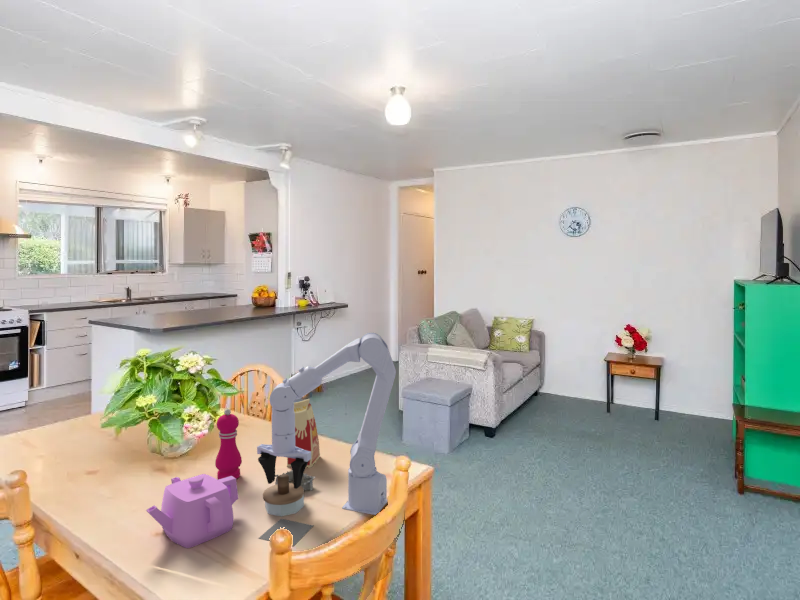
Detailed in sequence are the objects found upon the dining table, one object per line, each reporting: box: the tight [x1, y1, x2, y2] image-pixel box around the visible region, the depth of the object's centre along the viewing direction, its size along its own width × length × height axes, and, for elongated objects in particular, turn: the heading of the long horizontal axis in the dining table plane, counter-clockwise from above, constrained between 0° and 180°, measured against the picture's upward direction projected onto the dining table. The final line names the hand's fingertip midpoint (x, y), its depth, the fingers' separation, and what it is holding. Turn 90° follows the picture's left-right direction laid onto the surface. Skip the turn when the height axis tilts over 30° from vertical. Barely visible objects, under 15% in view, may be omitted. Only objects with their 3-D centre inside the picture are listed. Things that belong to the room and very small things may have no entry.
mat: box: [257, 518, 315, 547], centre depth 113 cm, size 9×9×1 cm
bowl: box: [264, 494, 305, 517], centre depth 125 cm, size 9×9×4 cm
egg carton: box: [274, 469, 316, 491], centre depth 136 cm, size 11×8×4 cm
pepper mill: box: [214, 408, 243, 480], centre depth 142 cm, size 7×7×20 cm
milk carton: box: [286, 398, 321, 469], centre depth 153 cm, size 9×9×20 cm
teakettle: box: [145, 473, 239, 549], centre depth 114 cm, size 17×17×12 cm
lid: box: [262, 473, 305, 505], centre depth 124 cm, size 10×10×5 cm
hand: (284, 484), depth 125 cm, fingers open, 7 cm apart
